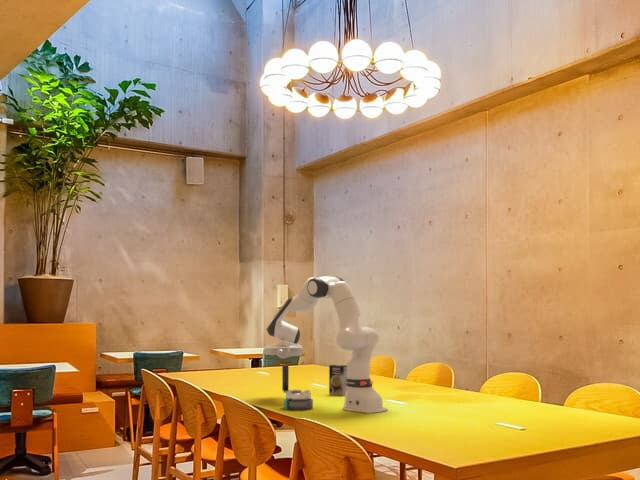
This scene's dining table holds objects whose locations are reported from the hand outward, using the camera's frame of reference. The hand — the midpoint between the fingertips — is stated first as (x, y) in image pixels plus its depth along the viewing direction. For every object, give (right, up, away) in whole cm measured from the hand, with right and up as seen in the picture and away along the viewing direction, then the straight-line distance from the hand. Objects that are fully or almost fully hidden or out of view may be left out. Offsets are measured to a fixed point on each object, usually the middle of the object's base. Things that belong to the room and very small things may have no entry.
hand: (284, 351), depth 340 cm
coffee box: (+29, -29, +30) cm, 50 cm away
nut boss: (+8, -25, -17) cm, 31 cm away
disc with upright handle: (+7, -20, -16) cm, 27 cm away
